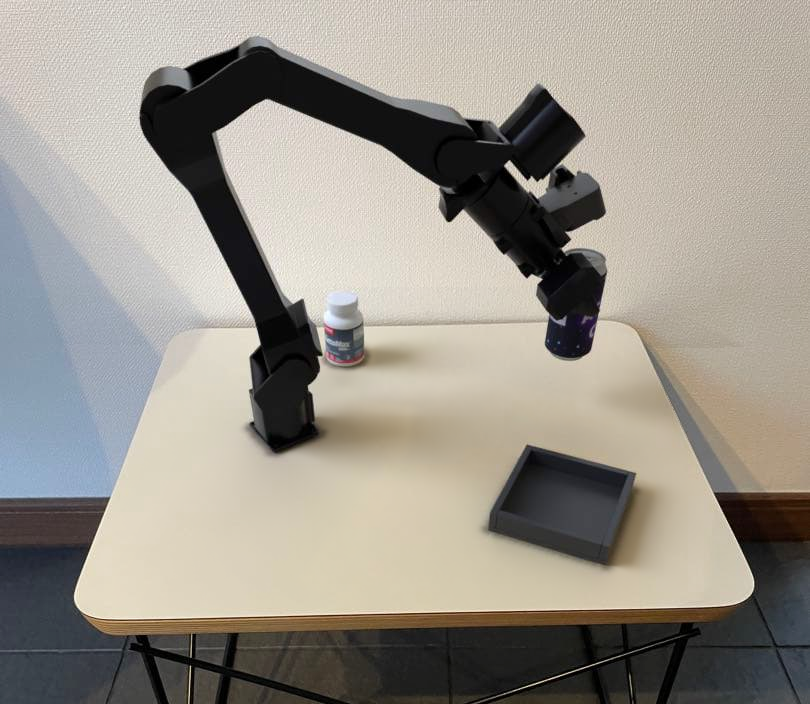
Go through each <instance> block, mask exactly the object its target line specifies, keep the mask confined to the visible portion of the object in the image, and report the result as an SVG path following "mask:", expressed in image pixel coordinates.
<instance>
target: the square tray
mask: <svg viewBox="0 0 810 704" xmlns="http://www.w3.org/2000/svg"><path fill="white" fill-rule="evenodd" d="M636 477H637V472H634V471H631V470H627V469H623V468H619V467H616V466H611V465H607V464H604V463H600V462H597V461H593V460H588V459H584V458H581V457H577V456H574V455H569V454H566V453H562V452H558V451H554V450H550V449H547V448H542V447H539V446H536V445H531V444H526V445H525V446H524V449H523V451H522V452H521V454H520V456H519V458H518V460H517V462H516V463H515V465H514V467H513V469H512V471H511V473H510V475H509V476H508V479H507V480H506V482H505V484H504V486H503V488H502V490H501V491H500V493H499V494H498V497H497V499H496V500H495V502H494V504H493V507H492V508H491V509H490V511H489V519H488V528H487V530H488V531H490V532H493V533H495V534H496V533H497V534H500V535H504V536H506V537H510V538H514V539H517V540H519V541H522V542H523V541H524V542H526V543H529V544H534V545H536V546H540V547H543V548H546V549H549V550H550V549H551V550H553V551H557V552H559V553H563V554H566V555H569V556H573V557H577V558H579V559H583V560H586V561H589V562H593V563H597V564H600V565H603V566H605V565H607V561H608V558H609V555H610V552H611V550H612V547H613V545H614V542H615V538H616V536H617V533H618V530H619V527H620V526H621V525H620V524H621V522H622V519H623V516H624V514H625V511H626V507H627V505H628V502H629V499H630V496H631V493H632V491H633V487H634V483H635V480H636Z"/></svg>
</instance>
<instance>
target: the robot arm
mask: <svg viewBox="0 0 810 704" xmlns="http://www.w3.org/2000/svg"><path fill="white" fill-rule="evenodd" d="M266 100H268V101H271V102H274V103H276V104H279V105H281V106H283V107H286V108H287V109H288V108H289V109H290V110H293V111H295V112H298V113H300V114H303V115H305V116H308V117H310V118H312V119H315V120H318V121H319V122H322V123H325V124H327V125H330V126H332V127H333V128H337V129H338V130H342V131H344V132H347V133H348V134H351V135H354V136H355V137H359V138H361V139H363V140H366V141H368V142H371V143H373V144H376V145H379V146H381V147H382V148H384V149H385V150H387V151H389V152H390V153H391V154H393V155H394V156H395V157H396V158H398V159H400V160H401V162H402V163H404V164H405V165H407V166H408V167H409V168H411V170H414V171H415V172H416V173H418V174H420V175H421V176H423V177H424V178H426V179H427V180H428V181H430V182H432V183H433V184H434V185H437V186H439V187H438V192H439V200H438V201H439V202H438V210H439V211H440V213H441V216H442V217H443V219H444V220H445V222H447V223H452V222H453V221H454V220H455V219H456V218H457V216H459V214H460V213H462V211H464V212H465V213H466V214H467V215H468V217H470V219H471V220H472V221H474V223H475V224H476V225H478V227H479V228H480V229H481V230H482V231H483V232H484V233H485V234H486V236H487V237H488V238H490V239H491V241H492V242H493V243H494V245H495V247H496V248H497V250H498V251H499V252H500V253H501V254H502V255H503V256H505V255H506V256H507V257H508V258H509V259H510V260H511V261H512V262H513V263H514V265H515V266H516V267H517V269H518V270H519V272H520V273H521V275H522V276H523V277H524V278H525V279H526V280H527V279H529V277H531V276H534V277H536V278H539V279H541V280H540V281H539V282H538V283H537V286H536V290H535V291H536V293H535V296H536V298H537V299H538V301H539V302H540V305H542V307H543V309H545V311H546V312H547V314H548V315H549V314H550V315H551V316H552V317H553V318H554V319H555V320H556V321H558V320H562V319H563V318H564V317H566V316H567V315H568V314H569V313H570V312H573V313H577V314H581V315H585V316H589V317H594V316H596V315H597V314H598V313H599V314H600V311H601V308H600V309H599V307H598V305H597V303H596V301H595V298H594V296H593V294H592V292H593V291H594V290H595V289H596V288H597V287H599V286H600V285H601V283H602V280H603V277H602V276H601V275H600V273H599V272H598V271H597V270H596V269H595V267H594V266H593V265H592V264H591V263H590V262H589V260H588V259H587V258H586V257H585V256H584V255H583V253H582V252H581V253H570V254H569V255H568V256H567V255H566V254H565V253H564V252H565V251H564V250H563V248H565V246H567V244H569V243H570V242H571V241H572V238H571V237H570V235H569V234H568V233H571V232H573V231H576V230H577V229H580V228H581V227H584V226H585V225H587V224H589V223H591V222H593V221H598V220H600V219H602V218H603V217H604V216H605V215H606V213H607V209H606V205H605V201H604V197H603V193H602V190H601V185H600V182H598V181H597V180H596V179H595V178H594V177H593V176H592V175H591V174H590V173H588V172H582V171H581V170H580V169H579V170H577V171H576V174H574V173H573V172H572V171H571V170H570V169H569V168H567V166H565V165H564V164H563V163H561V162H562V161H563V160H564V159H565V158H566V157H567V156H568V155H569V154H570V153H571V152H572V151H573V150H574V149H575V148H577V146H578V145H579V144H580V143H581V142H583V140H584V139H585V138H586V137H587V136H586V134H585V132H584V130H583V129H582V127H581V126H580V125H579V123H578V122H577V120H576V119H575V118H574V117H573V116H572V115H571V114H570V113H569V112H568V111H567V110H565V108H563V107H562V106H561V105H560V103H559V102H558V101H557V100H556V99H555V98H554V97H553V96H552V94H551V93H550V92H549V90H548V89H547V88H546V87H545V86H543V85H542V83H536V84H535V85H534V86H533V87H532V89H531V90H529V92H528V93H527V95H526V96H525V98H524V100H523V101H522V102H521V103H520V104H519V106H517V108H516V109H515V110H514V111H513V112H512V113H511V114H510V115H509V116H508V118H506V119H505V121H503V123H502V124H501V125H500V126H499V127H498V126H497V125H496V124H495V123H494V122H493V121H492V120H490V119H480V118H471V117H463V116H462V114H461V113H460V112H459V111H457V110H456V109H455V108H453V107H451V106H450V105H449V106H448V105H445V104H441V103H435V102H431V101H426V100H422V99H410V98H400V97H395V96H390V95H388V94H386V93H383V92H381V91H380V90H377V89H374V88H372V87H370V86H367V85H366V84H363V83H361V82H359V81H357V80H354V79H352V78H350V77H347V76H345V75H343V74H340V73H339V72H337V71H334V70H332V69H329V68H326V67H325V66H323V65H321V64H318V63H316V62H314V61H311V60H309V59H307V58H304V57H303V56H300V55H297V54H295V53H293V52H291V51H289V50H286V49H284V48H282V47H279V46H278V45H277V44H275V43H274V42H273V41H272V40H271V39H269V38H267V37H264V36H260V35H256V36H255V35H254V36H249V37H248V38H246V39H245V40H242V42H241V43H239V44H236V45H235V46H233V47H231V48H229V49H226V50H224V51H220V52H217V53H214V54H212V55H208V56H206V57H203V58H201V59H199V60H197V61H194V62H193V63H191V64H190V65H187V66H186V67H183V68H181V67H178V66H172V65H168V66H163V67H159V68H157V69H156V70H154V71H152V72H150V74H149V76H148V77H147V79H146V80H145V81H144V85H143V88H142V92H141V99H140V105H139V116H138V117H139V118H138V119H139V127H140V130H141V132H142V135H143V137H144V138H145V140H146V142H147V143H148V144H149V146H150V147H151V149H152V150H153V151H154V152H155V154H156V155H157V156H158V158H159V159H160V161H161V162H162V163H163V165H164V166H165V168H166V169H167V171H168V172H169V173H170V174H171V175H172V176H173V177H174V178H175V179H176V180H177V181H178V182H179V183H180V184H181V185H182V187H184V188H185V189H186V190H187V192H188V194H190V196H191V197H192V199H193V201H194V204H195V205H196V208H197V209H198V211H199V213H200V215H201V217H202V219H203V221H204V223H205V225H206V227H207V229H208V231H209V232H210V235H211V236H212V238H213V241H214V242H215V244H216V247H217V248H218V250H219V252H220V254H221V257H222V258H223V260H224V262H225V264H226V266H227V268H228V270H229V272H230V273H231V276H232V279H233V280H234V283H235V284H236V286H237V288H238V290H239V292H240V294H241V296H242V298H243V300H244V302H245V304H246V306H247V308H248V310H249V312H250V314H251V316H252V317H253V320H254V323H255V328H256V331H257V335H258V340H259V345H258V347H256V348H255V350H253V352H252V353H251V354H250V355H249V357H248V360H249V361H248V362H249V370H250V379H251V388H249V389H248V395H249V401H250V406H251V412H252V418H253V421H250V422H249V425H248V426H249V428H250V429H251V431H252V432H253V433H254V434H255V435H256V436H257V437H258V438H259V439H260V440H261V441H262V443H264V444H265V446H266V447H267V448H268V449H269V450H270V451H271V452H274V453H275V452H276V453H277V452H279V451H281V450H284V449H286V448H289V447H291V446H294V445H297V444H300V443H301V442H304V441H306V440H309V439H311V438H313V437H316V436H318V435H319V434H320V429H319V428H318V427H317V426H316V425H315V424H314V423H315V422H316V413H315V405H314V394H313V393H312V392H311V391H310V390H309V389H310V388H309V386H310V385H311V384H312V383H314V381H315V380H316V379H317V378H318V375H319V374H320V372H321V364H320V359H319V357H323V356H324V355H323V354H324V353H323V348H322V346H321V341H320V337H319V332H318V328H317V324H316V323H315V322H313V320H312V319H311V318H310V316H309V314H308V311H307V307H306V303H305V299H304V298H300V299H299V300H297V301H296V302H294V303H293V302H292V301H291V300H290V299H289V298H288V296H286V295H285V293H284V292H283V290H282V289H281V286H280V285H279V282H278V279H277V278H276V276H275V272H274V271H273V269H272V267H271V265H270V262H269V260H268V258H267V255H266V254H265V252H264V249H263V248H262V245H261V243H260V241H259V239H258V236H257V234H256V233H255V230H254V228H253V226H252V223H251V222H250V219H249V217H248V215H247V212H246V211H245V208H244V206H243V204H242V202H241V199H240V198H239V195H238V193H237V191H236V189H235V187H234V185H233V182H232V179H231V178H230V176H229V173H228V171H227V169H226V166H225V162H224V157H223V154H222V150H221V149H222V148H221V145H220V142H219V137H218V134H217V132H218V131H219V130H221V129H223V128H225V127H227V126H229V125H230V124H231V123H233V122H234V121H235V120H236V119H238V118H239V117H241V116H242V115H244V114H245V113H246V112H248V111H249V110H250V109H251V108H253V107H254V106H256V105H258V104H260V103H261V102H264V101H266ZM509 161H510V163H511V164H512V165H513V166H514V167H515V168H516V170H517V171H518V172H519V173H520V175H521V176H522V177H523V178H524V179H525V180H526V181H527V182H528V181H530V180H531V178H532V179H534V181H535V182H536V183H538V182H540V180H541V181H543V180H545V179H546V178H547V176H548V175H549V178H548V183H547V187H546V188H545V193H543V194H542V195H541V196H539V197H537V196H536V195H535V194H534V193H533V191H531V190H529V191H528V190H526V189H525V188H524V186H523V185H522V184H521V183H520V182H519V181H518V180H517V178H516V177H515V176H514V175H513V174H512V173H511V172H510V171H509V169H508V168H507V167H506V164H507V163H509ZM560 163H561V164H560ZM558 263H559V264H558Z"/></svg>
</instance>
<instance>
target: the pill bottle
mask: <svg viewBox="0 0 810 704" xmlns="http://www.w3.org/2000/svg"><path fill="white" fill-rule="evenodd" d="M358 298H359V296H358V295H357V294H356V293H355V292H353V291H350V290H336V291H333V292H331V293H330V294H329V295H328V296H327V299H326V304H327V305H326V306H327V310H326V311H325V313H324V314H323V330H324V342H325V344H324V345H325V354H326V355H325V356H326V359H327V361H328V362H329V363H330V364H332V365H334V366H338V367H352V366H355V365H358V364H360V363H361V362H362V361H363V360H364V358H365V328H364V324H365V323H364V315H363V312H362V311H361V310H360V309H359V299H358Z"/></svg>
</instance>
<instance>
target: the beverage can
mask: <svg viewBox="0 0 810 704" xmlns="http://www.w3.org/2000/svg"><path fill="white" fill-rule="evenodd" d="M581 252H582V253H583V255H584V256H585V257H586V258H587V259H588V260H589V262H590V263H591V264H592V265H593V266H594V267H595V269H596V270H597V271H598V272H599V273H600V275H601V276H602V277H603V280H602V283H601V285H600V286H599V287H597V288H596V289H595V290H594V291H593V292H592V294H593V296H594V298H595V301H596V303H597V305H598V307H599V309H600V310H601V305H602V301H603V300H602V299H603V295H604V290H605V285H606V279H607V277H608V276H607V275H608V267H607V264H606V262H607V258H606V256H605V255H604V254H603V253H602V252H601V251H597V250H594V249H592V248H585V247H576V248H570V249H568V250H565V251H564V253H565V254H566V255H567V256H568V255H569V254H570V253H581ZM558 264H559V263H558ZM599 314H600V312H599V313H598V314H597V315H596V316H594V317H589V316H585V315H581V314H577V313H573V312H570V313H569V314H568V315H567V316H566V317H564V318H563V319H562V320H558V321H556V320H555V319H554V318H553V317H552V316H551V315H550V314H549V313H548V319H547V325H546V332H545V339H544V346H545V348H546V350H547V351H548V352H549V353H550V355H551V356H552V357H554V358H555V359H558V360H561V361H565V362H573V361H574V362H575V361H578V360H580V359H582V358H583V357H585V356H587V355H588V354H589V353H591V351H592V348H593V344H594V338H595V335H596V329H597V323H598V318H599Z"/></svg>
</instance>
